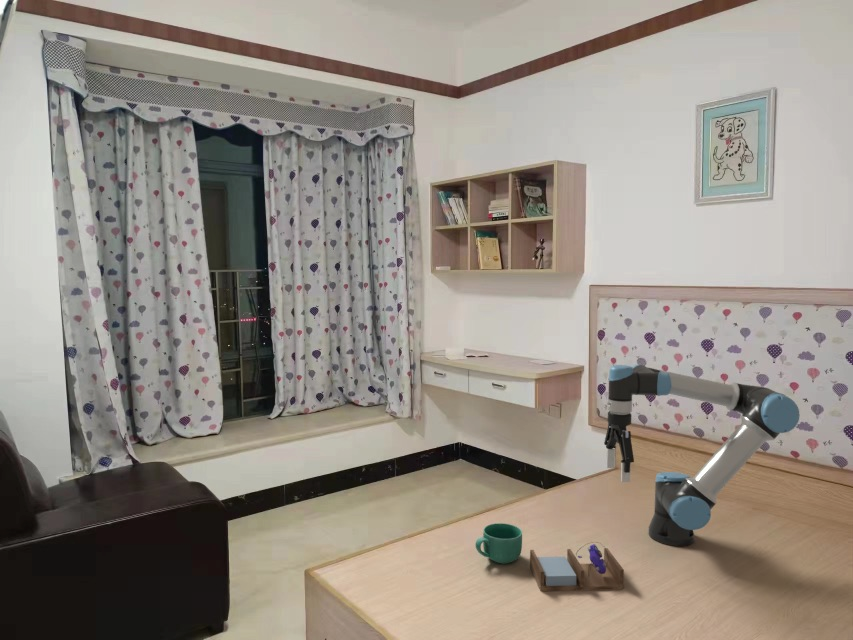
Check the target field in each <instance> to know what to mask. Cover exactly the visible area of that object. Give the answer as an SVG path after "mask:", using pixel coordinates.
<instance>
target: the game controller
mask: <svg viewBox="0 0 853 640" xmlns="http://www.w3.org/2000/svg"><path fill="white" fill-rule="evenodd" d="M592 543H594V541H591V542H589V543H586V544H584V545H583V546H581V547H580V548H579V550H581V549H582V548H583V547H585V546H586V545H588V544H589V545H590V544H591V545H590V546H589V547H588V548H587V550H588V553H589V560H590V562H591V563H589V564H590V565H592V564H594V565H595V567H596V571H598V572H599V573H600V574H604V573H605V572H606V567H605V566H607V565H606V563H605V561H604V558H603V553H602V552H601V550H599V548H598V546H597V545H596V544H597V543H598V544H600V545H602V543H601V542H598V541H596V544H592ZM604 548H605V549H606V548H607V547H604ZM579 550H577V551H576V553H575V556H577V558H579V559H582V558H583V556H582V555H578V554H577V553H578V552H579ZM606 551H607V550H606ZM607 554H608V553H607ZM607 564H608V562H607ZM590 565H589V567H590ZM590 569H591V567H590ZM589 575H590V574H589V570H588V576H589Z"/></svg>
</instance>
